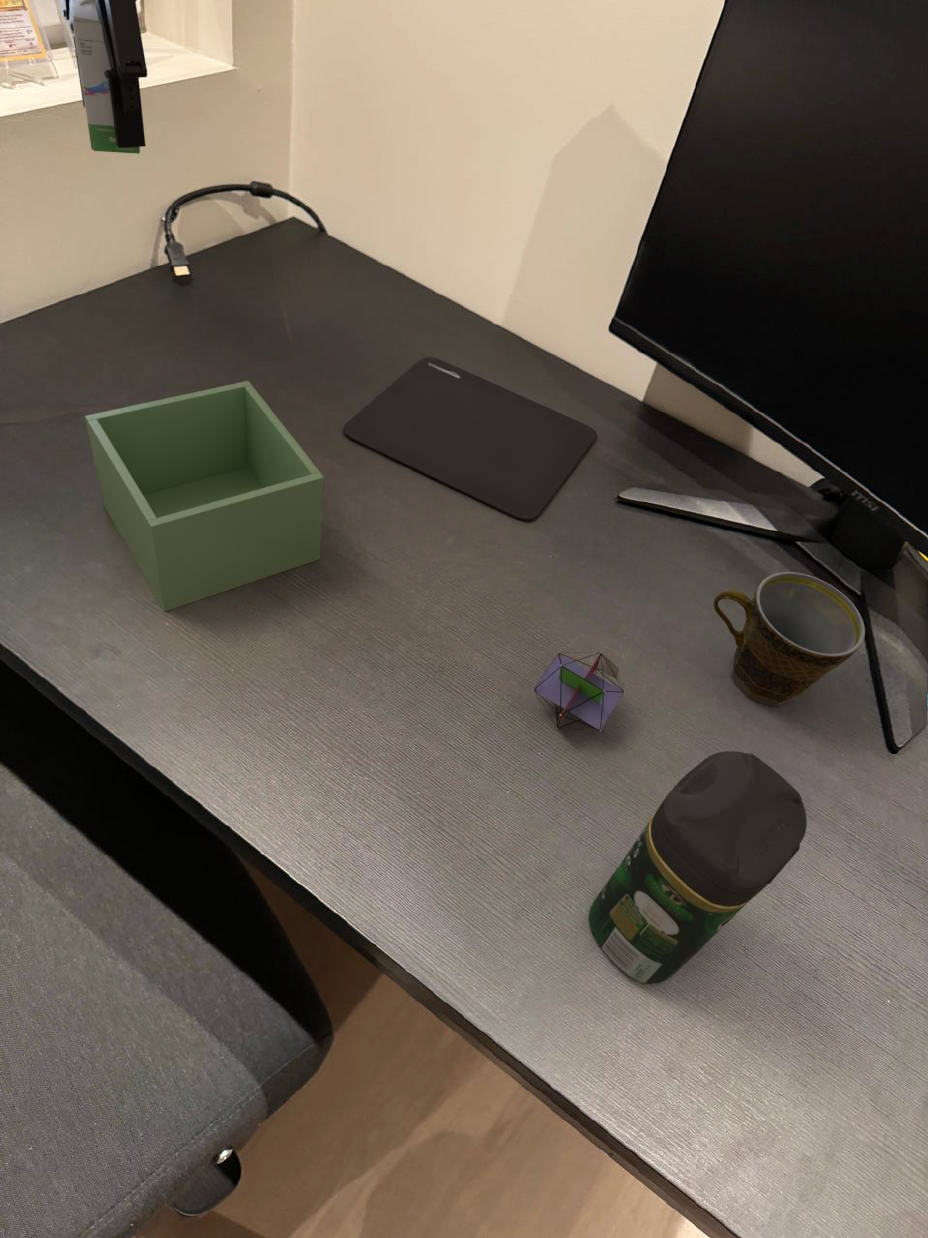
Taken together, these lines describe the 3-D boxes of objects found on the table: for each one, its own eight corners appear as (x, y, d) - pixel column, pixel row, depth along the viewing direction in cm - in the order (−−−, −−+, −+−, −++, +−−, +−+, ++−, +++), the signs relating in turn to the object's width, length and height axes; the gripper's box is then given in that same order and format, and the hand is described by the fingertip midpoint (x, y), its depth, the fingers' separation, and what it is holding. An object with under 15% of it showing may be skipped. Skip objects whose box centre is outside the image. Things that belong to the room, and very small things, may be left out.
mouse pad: (600, 432, 104) (600, 430, 104) (531, 525, 91) (531, 523, 91) (427, 354, 109) (427, 353, 109) (336, 432, 96) (337, 430, 96)
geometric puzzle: (582, 759, 70) (630, 678, 68) (513, 715, 72) (558, 635, 70) (597, 741, 77) (641, 667, 75) (533, 702, 79) (575, 628, 77)
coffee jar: (643, 846, 68) (737, 718, 54) (721, 921, 65) (841, 805, 51) (565, 922, 63) (647, 802, 49) (646, 1008, 60) (758, 905, 46)
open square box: (102, 503, 83) (84, 415, 75) (250, 464, 90) (248, 380, 82) (164, 611, 76) (151, 526, 68) (320, 559, 83) (324, 476, 75)
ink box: (141, 155, 88) (127, 23, 80) (90, 151, 87) (70, 17, 78) (138, 122, 94) (125, -5, 85) (90, 118, 92) (71, -12, 83)
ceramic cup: (812, 658, 85) (863, 592, 78) (811, 735, 79) (867, 671, 71) (689, 617, 86) (728, 548, 79) (678, 690, 80) (719, 622, 72)
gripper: (171, -117, 69) (189, 168, 86) (80, -181, 80) (112, 84, 96) (77, -125, 66) (115, 173, 83) (-6, -192, 76) (43, 85, 93)
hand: (113, 125), depth 89 cm, fingers closed on ink box, 9 cm apart
